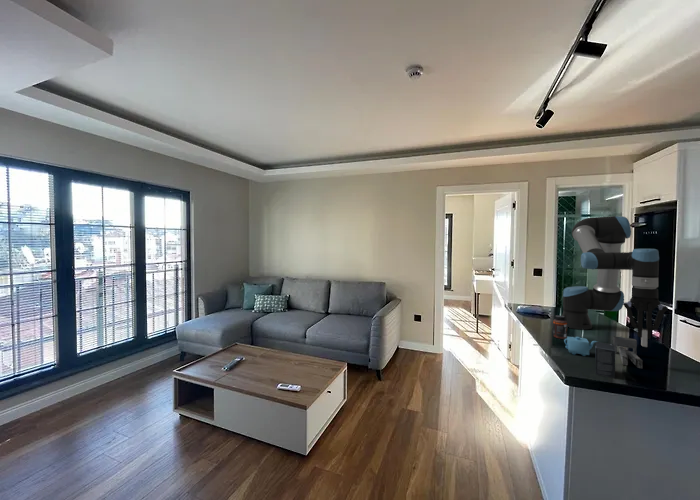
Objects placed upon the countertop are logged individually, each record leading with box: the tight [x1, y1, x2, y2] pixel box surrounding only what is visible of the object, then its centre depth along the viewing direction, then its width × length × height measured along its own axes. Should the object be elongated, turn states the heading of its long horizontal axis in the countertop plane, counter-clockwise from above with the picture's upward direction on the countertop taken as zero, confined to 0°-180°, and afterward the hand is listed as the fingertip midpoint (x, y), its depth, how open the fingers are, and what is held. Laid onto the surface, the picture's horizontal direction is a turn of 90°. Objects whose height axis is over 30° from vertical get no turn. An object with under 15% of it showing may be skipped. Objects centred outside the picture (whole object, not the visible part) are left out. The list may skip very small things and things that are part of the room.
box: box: [595, 341, 616, 379], centre depth 113 cm, size 8×6×11 cm
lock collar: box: [613, 335, 638, 356], centre depth 131 cm, size 3×7×7 cm, turn 52°
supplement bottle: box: [552, 314, 568, 340], centre depth 155 cm, size 6×6×11 cm
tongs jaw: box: [628, 350, 644, 369], centre depth 121 cm, size 11×2×3 cm, turn 150°
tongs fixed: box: [618, 346, 629, 367], centre depth 125 cm, size 15×3×3 cm, turn 142°
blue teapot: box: [563, 335, 599, 357], centre depth 133 cm, size 12×6×8 cm, turn 60°
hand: (644, 345), depth 119 cm, fingers closed
